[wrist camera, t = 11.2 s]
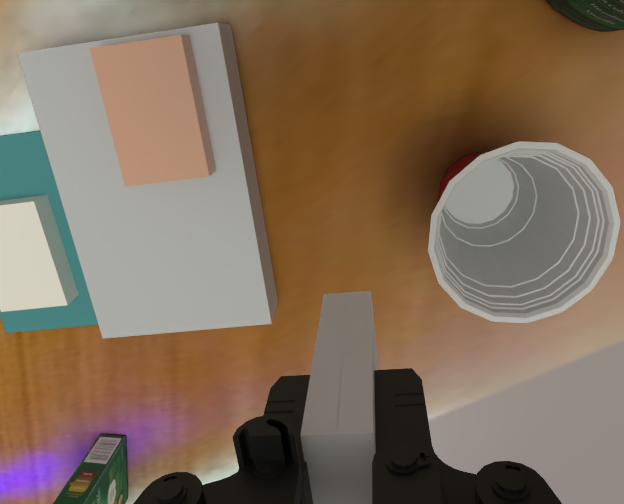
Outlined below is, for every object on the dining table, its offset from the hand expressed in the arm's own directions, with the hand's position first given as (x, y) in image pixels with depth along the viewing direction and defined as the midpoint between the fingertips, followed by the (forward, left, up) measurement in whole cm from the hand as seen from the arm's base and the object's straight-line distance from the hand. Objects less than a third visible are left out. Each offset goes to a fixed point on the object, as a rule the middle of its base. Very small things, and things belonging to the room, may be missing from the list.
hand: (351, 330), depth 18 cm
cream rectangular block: (+4, -28, -24) cm, 37 cm away
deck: (0, -15, -26) cm, 30 cm away
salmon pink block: (-6, -13, -22) cm, 26 cm away
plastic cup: (+3, +9, -27) cm, 28 cm away
